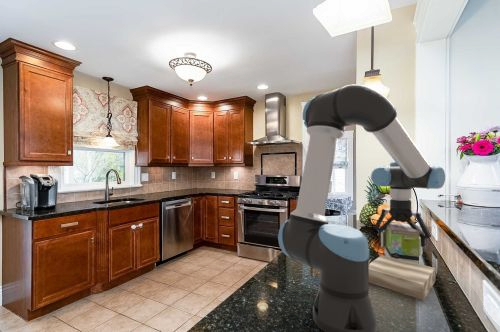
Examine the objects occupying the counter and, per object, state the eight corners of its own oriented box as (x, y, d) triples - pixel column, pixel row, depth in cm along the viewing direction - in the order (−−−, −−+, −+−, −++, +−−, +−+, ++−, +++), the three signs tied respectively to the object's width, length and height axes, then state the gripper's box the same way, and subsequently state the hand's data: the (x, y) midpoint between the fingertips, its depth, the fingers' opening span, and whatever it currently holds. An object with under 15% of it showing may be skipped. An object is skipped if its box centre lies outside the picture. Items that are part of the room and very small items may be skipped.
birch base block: (423, 301, 72) (423, 284, 72) (364, 282, 84) (364, 267, 84) (435, 282, 83) (435, 268, 84) (381, 267, 96) (381, 255, 96)
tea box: (420, 270, 93) (420, 231, 93) (390, 266, 96) (390, 228, 96) (409, 256, 107) (409, 222, 107) (383, 253, 110) (383, 220, 110)
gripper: (439, 201, 95) (440, 255, 95) (372, 195, 113) (372, 241, 113) (435, 203, 90) (436, 261, 90) (365, 197, 108) (366, 245, 108)
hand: (400, 250), depth 101 cm, fingers open, 13 cm apart
